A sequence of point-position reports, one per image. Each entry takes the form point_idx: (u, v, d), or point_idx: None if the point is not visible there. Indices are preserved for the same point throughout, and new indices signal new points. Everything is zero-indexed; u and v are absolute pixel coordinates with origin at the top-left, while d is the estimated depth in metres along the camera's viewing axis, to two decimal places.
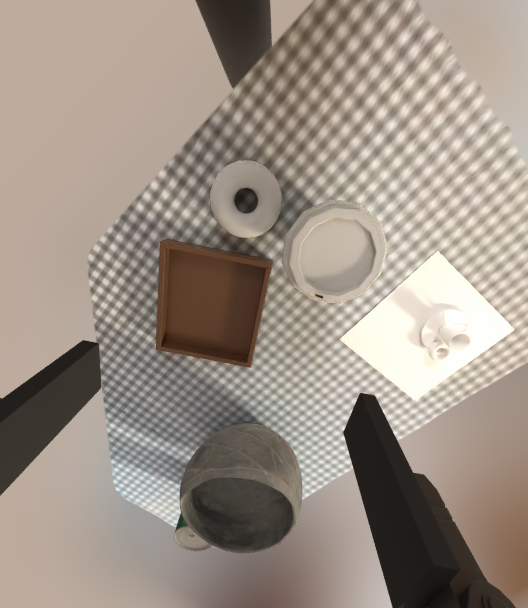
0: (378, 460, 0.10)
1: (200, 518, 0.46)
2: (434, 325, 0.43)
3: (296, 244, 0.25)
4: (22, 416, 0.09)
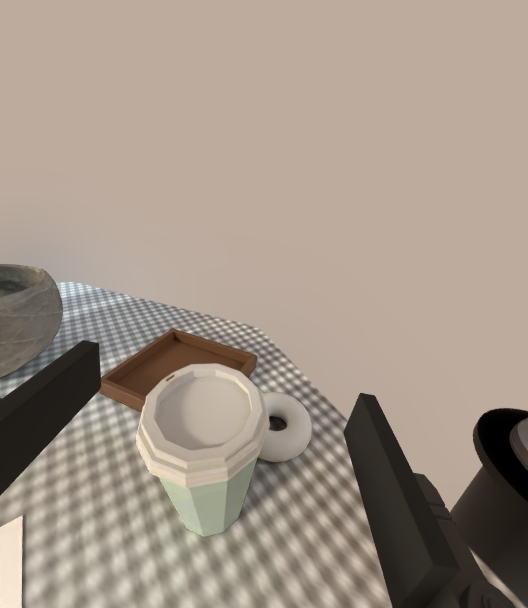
0: (378, 460, 0.10)
1: None
2: None
3: (235, 372, 0.24)
4: (22, 416, 0.09)
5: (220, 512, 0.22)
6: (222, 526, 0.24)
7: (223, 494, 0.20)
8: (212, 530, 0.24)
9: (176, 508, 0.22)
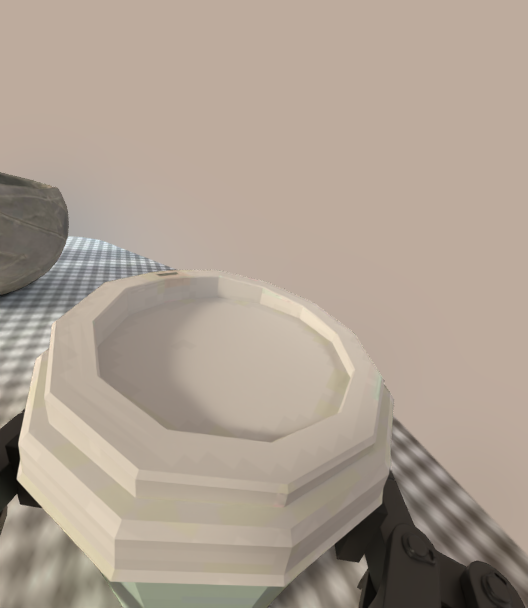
0: None
1: None
2: None
3: (303, 301, 0.11)
4: None
5: None
6: None
7: (242, 606, 0.06)
8: None
9: (111, 586, 0.09)
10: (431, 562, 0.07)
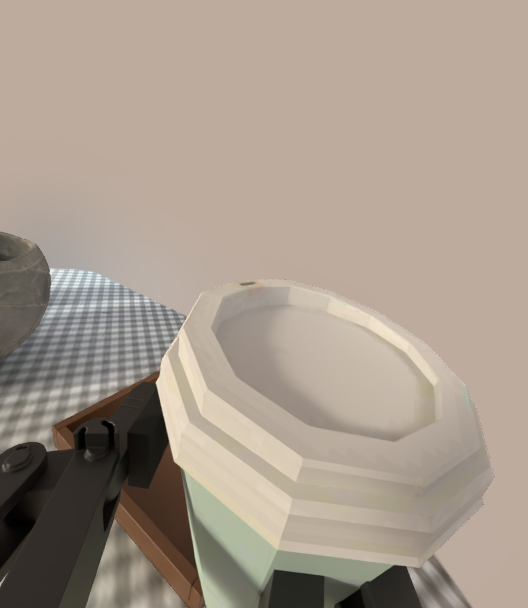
0: None
1: None
2: None
3: (370, 311, 0.12)
4: None
5: None
6: None
7: (349, 589, 0.07)
8: None
9: (202, 566, 0.10)
10: None
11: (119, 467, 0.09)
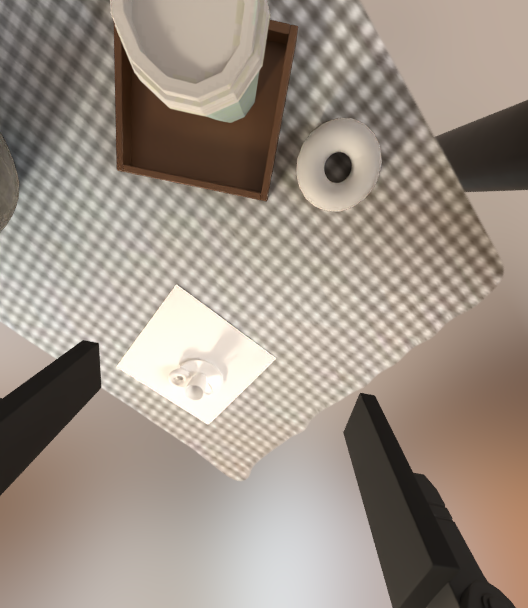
0: (378, 460, 0.10)
1: None
2: (205, 368, 0.45)
3: None
4: (22, 416, 0.09)
5: (238, 111, 0.25)
6: (242, 115, 0.29)
7: (237, 105, 0.22)
8: (235, 119, 0.29)
9: None
10: None
11: None
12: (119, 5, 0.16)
